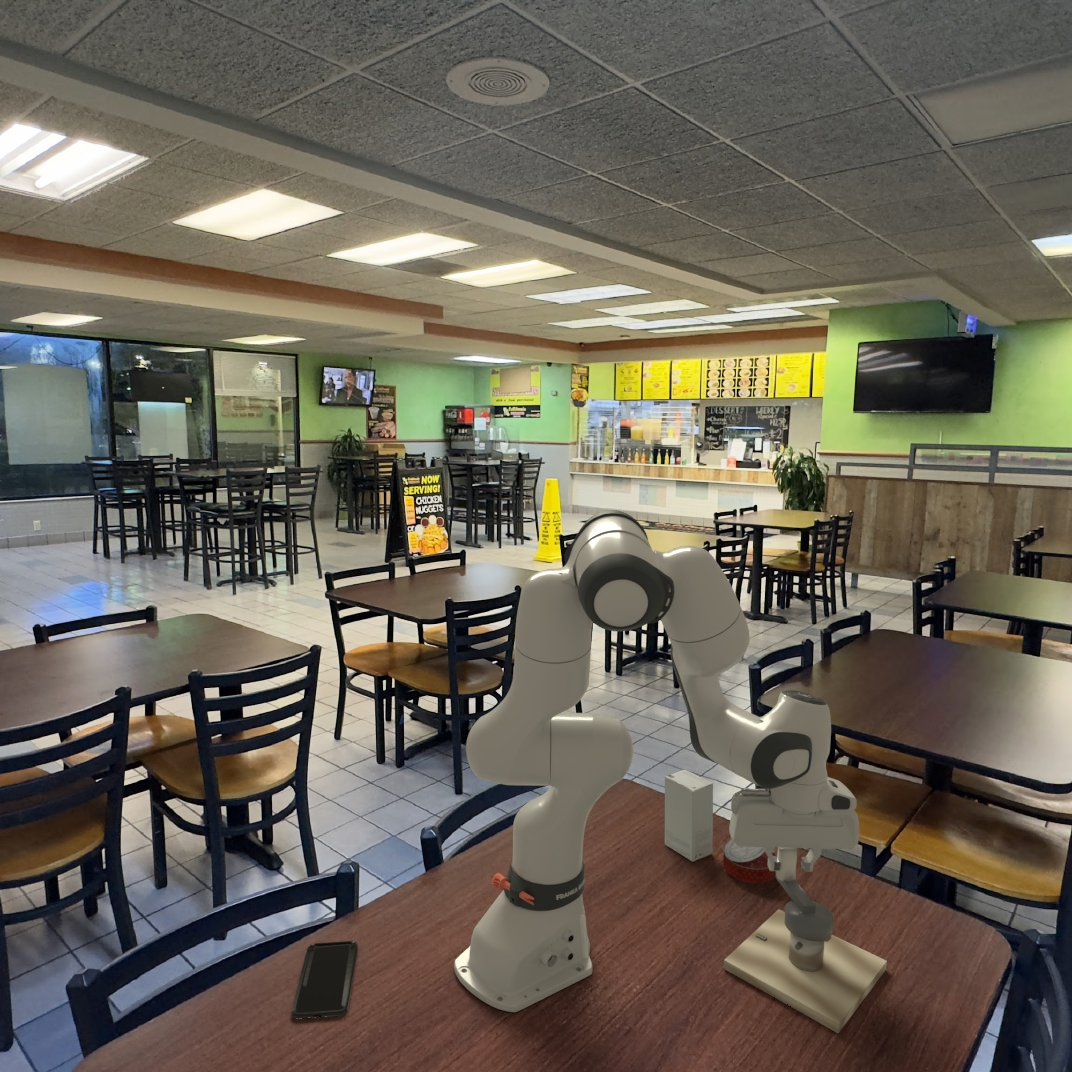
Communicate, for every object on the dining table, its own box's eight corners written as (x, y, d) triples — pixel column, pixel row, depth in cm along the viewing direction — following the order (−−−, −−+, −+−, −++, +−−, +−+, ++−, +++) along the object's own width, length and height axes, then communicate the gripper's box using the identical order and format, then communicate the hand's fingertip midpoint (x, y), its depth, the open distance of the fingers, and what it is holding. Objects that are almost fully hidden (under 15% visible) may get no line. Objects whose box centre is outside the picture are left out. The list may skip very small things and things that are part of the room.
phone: (358, 940, 122) (347, 1010, 108) (358, 947, 123) (347, 1017, 108) (307, 943, 121) (289, 1014, 107) (307, 950, 122) (289, 1022, 107)
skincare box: (713, 854, 150) (716, 783, 148) (691, 863, 147) (694, 791, 145) (682, 835, 157) (686, 767, 155) (661, 843, 154) (664, 774, 152)
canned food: (759, 907, 142) (752, 875, 137) (715, 877, 149) (707, 846, 144) (793, 863, 147) (787, 830, 142) (748, 836, 154) (741, 804, 149)
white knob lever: (797, 943, 114) (801, 892, 113) (760, 890, 126) (763, 844, 125) (841, 939, 115) (845, 889, 114) (800, 888, 127) (803, 842, 126)
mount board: (838, 1033, 106) (841, 988, 105) (723, 968, 118) (726, 927, 117) (886, 969, 119) (889, 928, 118) (778, 917, 131) (780, 879, 130)
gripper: (737, 797, 120) (731, 879, 121) (867, 800, 120) (859, 882, 122) (727, 779, 126) (721, 857, 128) (850, 782, 126) (843, 860, 128)
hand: (790, 869), depth 125 cm, fingers open, 4 cm apart
